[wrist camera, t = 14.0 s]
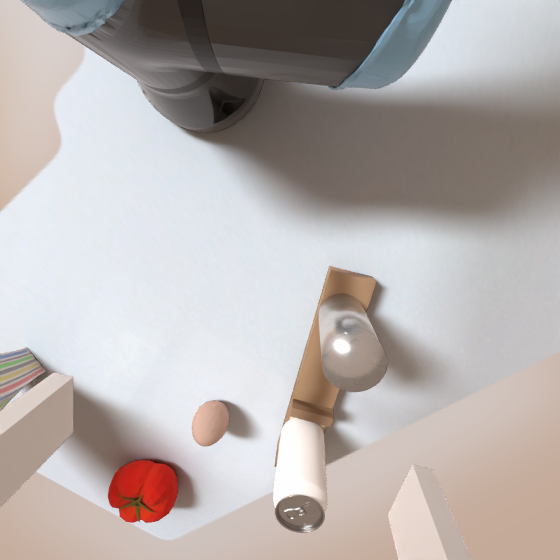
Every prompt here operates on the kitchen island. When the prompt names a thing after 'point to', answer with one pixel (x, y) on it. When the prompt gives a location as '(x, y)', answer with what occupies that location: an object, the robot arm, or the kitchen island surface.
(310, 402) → the rail
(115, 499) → the tomato
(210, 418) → the egg
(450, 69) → the kitchen island surface
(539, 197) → the kitchen island surface
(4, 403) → the vase
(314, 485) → the can
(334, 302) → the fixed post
